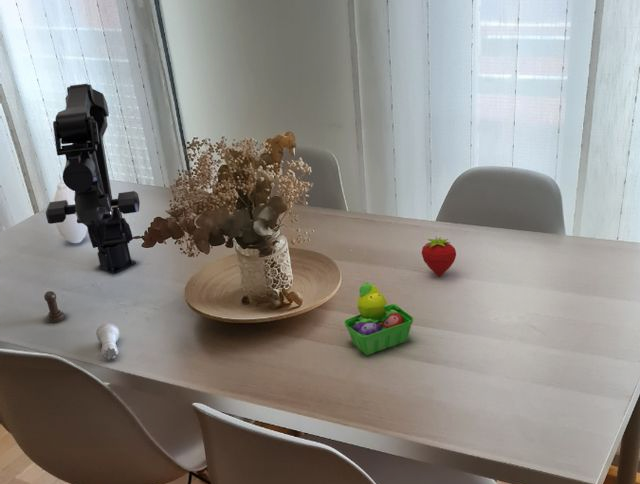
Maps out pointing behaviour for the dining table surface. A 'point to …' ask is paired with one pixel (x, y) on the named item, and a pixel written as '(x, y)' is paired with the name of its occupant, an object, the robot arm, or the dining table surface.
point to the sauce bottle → (69, 216)
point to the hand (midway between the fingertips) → (102, 244)
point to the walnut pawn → (53, 308)
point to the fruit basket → (377, 322)
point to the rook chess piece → (108, 340)
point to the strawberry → (439, 255)
